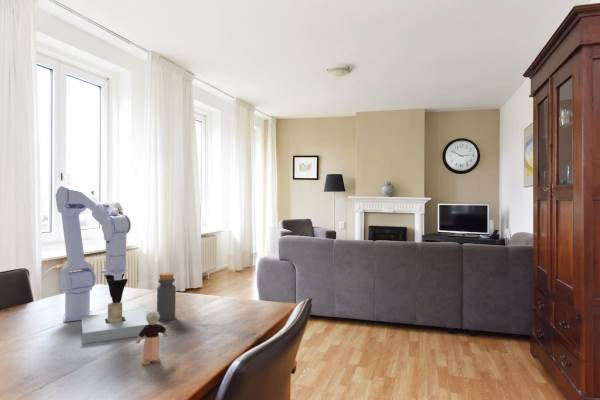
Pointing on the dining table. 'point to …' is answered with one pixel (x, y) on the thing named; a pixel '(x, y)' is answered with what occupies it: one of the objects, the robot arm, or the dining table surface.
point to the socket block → (112, 326)
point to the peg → (114, 312)
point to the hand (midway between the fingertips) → (115, 299)
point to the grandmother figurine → (151, 338)
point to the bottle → (166, 297)
